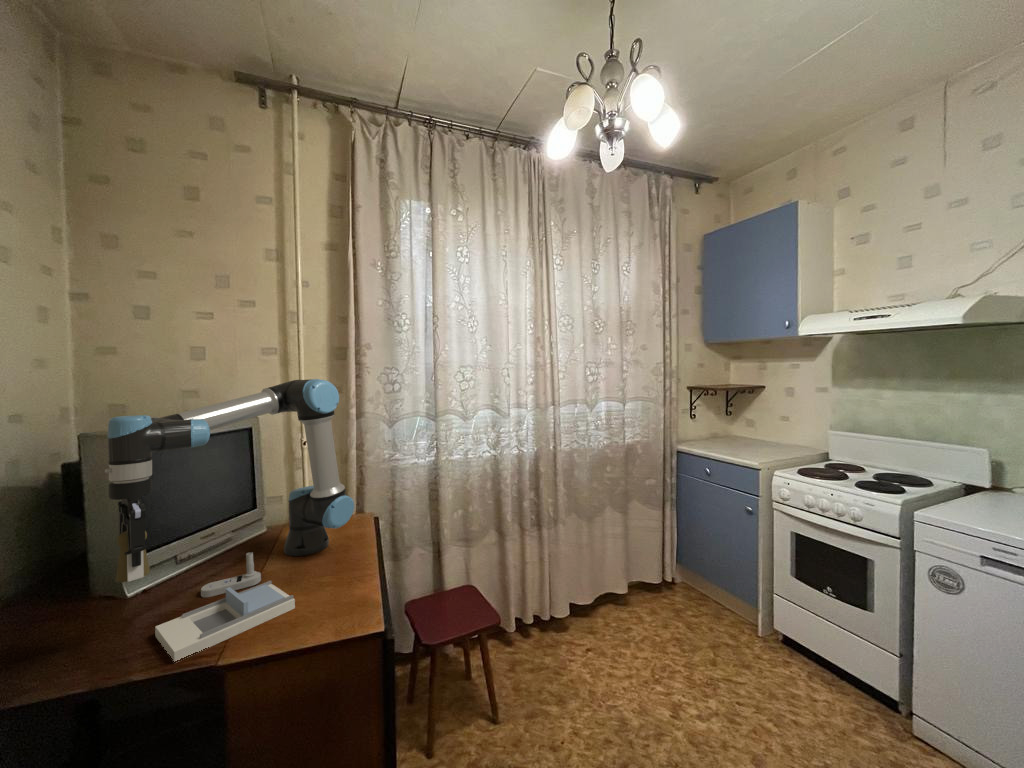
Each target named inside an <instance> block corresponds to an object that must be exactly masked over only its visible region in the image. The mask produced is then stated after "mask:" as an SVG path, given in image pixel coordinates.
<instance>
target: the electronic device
mask: <svg viewBox="0 0 1024 768" xmlns="http://www.w3.org/2000/svg"><path fill="white" fill-rule="evenodd" d="M245 559H246V562H245V563H246V564H245V566H246V567H245V568H246V569H245V570H246V573H244V574H240V575H236V576H233V577H228V578H224V579H220V580H219V579H218V580H217V581H216V580H215V581H212V582H208V583H206V584H205V585H203V586H201V588H200V596H201V598H211V597H215V596H219V595H223V594H226V588H228V587H231V588H232V589H233V590H234V591H236V592H237V591H239V590H242V589H246V588H247V589H248V588H249V587H250V588H252V587H255V585H256V586H257V585H259V584H260V582H261V581H262V574H261V572H260V571H256V570H255V562H254V552H253V551H251V552H247V553H246V554H245Z"/></svg>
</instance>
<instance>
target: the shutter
mask: <svg viewBox="0 0 1024 768" xmlns="http://www.w3.org/2000/svg"><path fill="white" fill-rule="evenodd" d="M238 593H239V592H237V590H236V591H234V590H233V589H232V588H231V587H228V588H226V593H225V598H226V603H228V604H229V605H230V606H231V607H232V608H233V609H235V610H236V611H237V612H238V613H239V614H240V615H241V616H244V615H246V614H249V613H251V612H253V611H256V610H258V609H260V608H263V607H265V606H267V605H270V604H272V603H274V602H277V601H279V600H281V599H284V598H285V597H284V596H283V595H281V594H280V593H278V592H277V591H275V590H274V589H272V588H271V587H269V586H268V585H266V584H264V585H262V586H259V587H257V588H254V589H251V590H249V591H246V592H244V593H241V594H238Z"/></svg>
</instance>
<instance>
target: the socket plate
mask: <svg viewBox="0 0 1024 768" xmlns="http://www.w3.org/2000/svg"><path fill="white" fill-rule="evenodd" d="M272 583H273V581H272V580H268V581H266V582H263V583H261V584H260V583H259V584H256V586H255V585H254V586H251V587H250V588H247V589H245V590H242V591H239V592H237V593H238V594H241V593H244V592H246V591H249V590H251V589H254V588H257V587H259V586H262V585H264V584H266V585H268V586H269V587H271V588H272V589H274V590H275V591H277V592H278V593H280V594H281V595H283V596H284V597H285V598H284V599H281V600H279V601H277V602H274V603H272V604H270V605H267V606H265V607H263V608H260V609H258V610H256V611H253V612H251V613H249V614H246V615H244V616H241V615H240V614H239V613H238V612H237V611H236V610H235V609H233V608H232V607H231V606H230V605H229V604H228V603H226V597H224V598H220V599H218V600H216V601H214V602H211V603H210V602H209V604H206V605H202V606H200V607H198V608H195V609H192V610H190V611H187V612H185V613H182V614H181V616H179V617H176V618H174V619H171V620H169V621H166V622H163V623H161V624H160V623H159V625H158V624H157V625H156V626H155V628H154V630H155V632H154V633H155V638H156V639H157V641H158V642H159V643H161V644H160V646H161V647H162V648H163V647H164V648H163V649H164V651H165V650H166V651H167V652H166V651H165V652H166V653H167V655H168V654H169V655H170V656H171V658H172V659H173V660H172V659H171V658H170V659H171V660H172V662H173V661H174V662H175V661H177V660H180V659H181V658H184V657H186V656H188V655H191V654H193V653H195V652H198V653H200V652H202V651H204V650H203V649H205V648H207V649H209V648H211V647H213V646H215V645H217V644H220V643H221V642H224V641H227V640H229V639H231V638H233V637H235V636H237V635H240V634H242V633H244V632H245V631H248V630H251V629H252V628H255V627H257V626H259V625H261V624H263V623H265V622H268V621H270V620H273V619H274V618H276V617H279V616H281V615H284V614H285V613H287V612H289V611H292V610H294V609H295V608H296V605H295V604H296V599H295V598H294V595H293V594H291V595H289V594H288V593H286V592H285V591H283V590H282V589H281V588H279V587H277V586H276V585H274V584H272ZM208 647H209V648H208ZM201 650H202V651H201ZM205 650H206V649H205ZM199 651H200V652H199ZM169 655H168V656H169ZM170 656H169V657H170ZM191 656H192V655H191ZM174 662H173V663H174Z"/></svg>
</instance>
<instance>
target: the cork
mask: <svg viewBox="0 0 1024 768" xmlns="http://www.w3.org/2000/svg"><path fill="white" fill-rule="evenodd" d="M147 538H148V533H147V531H146V530H145V541H146V540H147ZM116 542H117V543H116V544H117V545H118V546H119V547H120V548H119V554H118V555H119V556H118V562H117V566H116V567H117V569H116V573H115V582H117V583H125V582H128V581H127V555H124V553H125V552H128V539H127V531H125V532H123V533H121V534H120V535H119V534H118V536H117V539H116ZM143 561H144V577H146V576H148V575H149V574H150V573H151V568H150V564H149V560H148V555H147V548H146V549H145V550H143Z"/></svg>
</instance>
